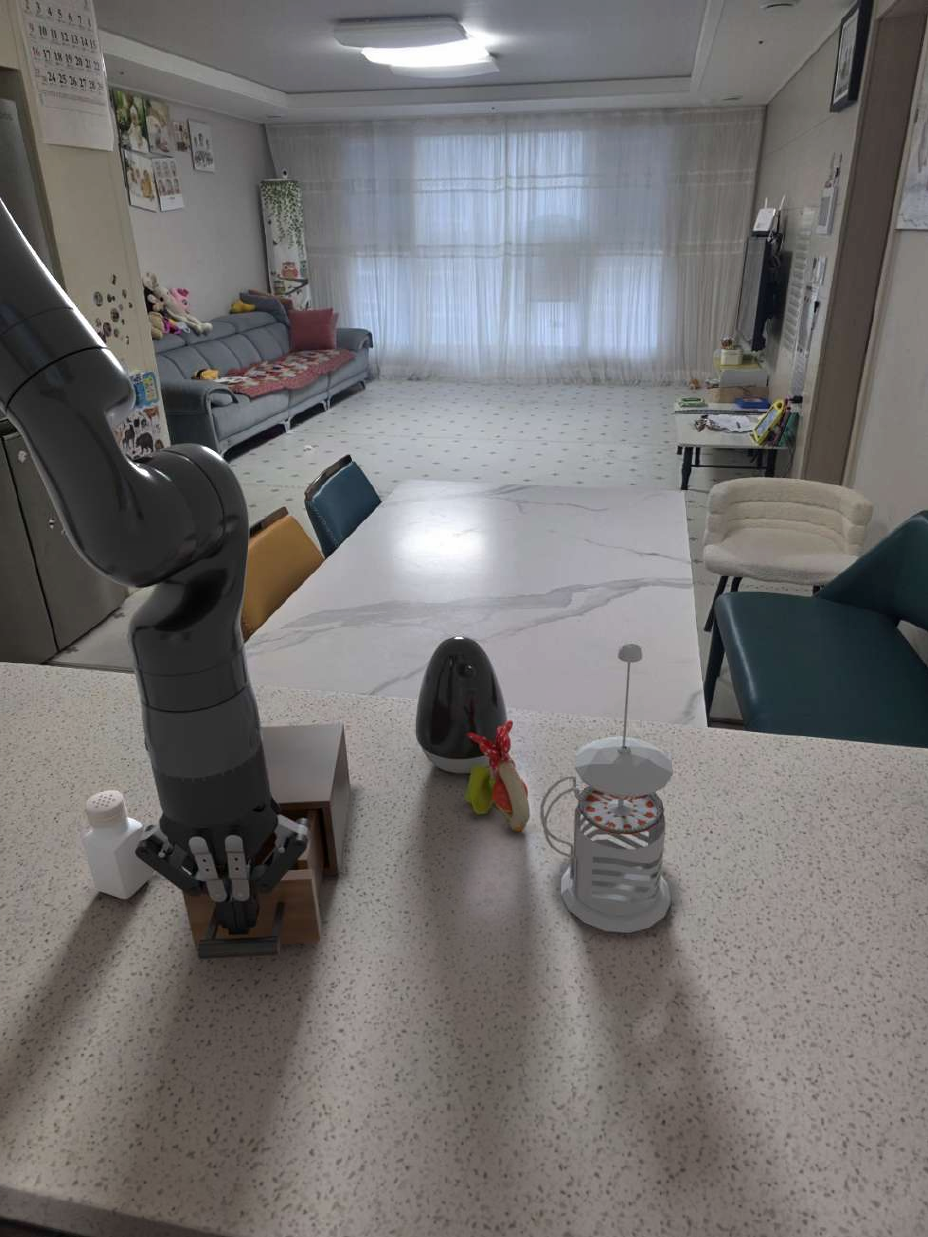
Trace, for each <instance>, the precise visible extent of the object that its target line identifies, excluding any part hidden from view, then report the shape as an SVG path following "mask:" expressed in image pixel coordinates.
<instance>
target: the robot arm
mask: <svg viewBox="0 0 928 1237" xmlns="http://www.w3.org/2000/svg"><path fill="white" fill-rule="evenodd" d="M56 280H57V279H55V277H54V276H53V274H52V273H51V272H50V271H49V270H48V268H47V267H46V266H45V264H44V263H43V262H42V260H41V259H40V257H39V256H38V254H37V253H36V251H35V250H34V248H33V247H32V245H31V244H30V242H29V240H27V238H26V237H25V235H24V233H23V232H22V230H21V229H20V228H19V226H18V224H17V222H16V221H15V220H14V218H13V216H12V215H11V213H10V212H9V210H8V208H7V207H6V205H5V203H4V201H3V200H2V198H1V197H0V410H1V411H2V413H3V415H5V416H6V417H7V418H8V420H9V422H11V424H12V425H13V426H14V427H15V428H16V430H17V431H18V432H19V433H20V435H21V436H22V439H23V440H24V443H25V444H26V447H27V449H28V451H29V454H30V456H31V458H32V461H33V463H34V465H35V468H36V470H37V472H38V474H39V475H40V478H41V480H42V482H43V485H44V486H45V488H46V491H47V493H48V495H49V498H50V500H51V502H52V505H53V507H54V509H55V512H56V514H57V516H58V518H59V520H60V521H59V522H60V523H61V525H62V528H63V530H64V532H65V534H66V536H67V538H68V540H69V543H70V544H71V545H72V546H73V548H74V550H75V551H76V552H77V554H78V555H79V557H80V558H81V559H82V560H83V561H84V562H85V563H86V564H87V565H88V566H89V567H90V568H92V569H93V570H94V571H95V572H97V574H99V575H100V576H102V577H104V578H105V579H107V580H108V581H111V582H113V583H114V584H117V585H120V586H123V587H127V588H131V589H145V588H150V587H153V586H154V589H153V590H152V591H151V593H150V595H149V596H148V597H147V599H146V600H145V601H144V602H143V603H142V604H141V605H140V606H139V607H138V609H137V610H136V611H135V612H134V613H133V614H132V616H131V618H130V620H129V622H128V627H127V632H126V633H127V644H128V649H129V654H130V659H131V662H132V667H133V672H134V676H135V680H136V685H137V690H138V694H139V699H140V706H141V723H142V729H143V730H142V731H143V734H144V738H143V739H144V740H143V741H144V746H145V750H146V752H147V753H148V756H149V757H148V758H149V761H150V765H151V770H152V774H153V778H154V783H155V787H156V791H157V797H158V801H159V805H160V808H161V811H162V813H161V816H160V818H159V821H158V824H149V825H147V826H146V828H144V833H143V835H142V837H141V839H140V841H139V843H138V846H137V848H136V850H135V854H136V856H137V857H138V858H139V859H141V860H142V861H143V862H145V863H146V864H147V865H149V866H150V867H151V868H153V869H154V872H156V873H158V874H159V875H160V876H162V877H163V878H164V879H166V880H167V881H168V882H170V883H171V884H173V885H174V886H175V887H176V888H178V889H179V890H180V891H181V892H182V891H183V892H185V893H186V894H187V895H189V896H191V897H197V896H199V895H200V894H201V893H204V894H208V895H210V897H211V899H212V900H213V901H215V905H216V910H217V914H218V919H219V924H220V925H221V927H222V928H223V929H227V928H228V933H229V935H248V934H249V932H250V929H251V928H252V927H255V925H256V922H257V918H258V914H259V910H260V906H259V901H258V895H257V892H260V893H263V894H267V893H270V892H271V891H272V890H273V888H274V887H275V886H276V885H277V884H278V882H279V881H280V880H281V879H282V878H283V876H284V875H285V874H286V873H287V872H288V871H289V869H290V868H291V867H292V866H293V865H294V863H295V862H296V861H297V860H298V859H299V857H300V856H301V855H302V854H303V853H304V851H305V850H306V848H307V843H308V838H309V833H310V828H311V823H310V821H309V820H307V819H304V818H301V819H298V820H297V821H296V822H293V821H292V820H290V819H288V818H286V817H284V816H282V815H281V809H280V806H279V804H278V803H277V802H276V801H275V799H274V798H273V796H272V794H271V790H270V782H269V776H268V770H267V763H266V757H265V750H264V744H263V737H262V731H261V727H262V724H261V718H260V713H259V707H258V702H257V698H256V695H255V691H254V689H253V684H252V683H251V678H250V673H249V664H248V660H247V653H246V648H245V640H244V636H243V631H242V627H241V618H242V617H241V616H242V609H243V603H244V598H245V597H244V596H245V592H246V590H245V589H246V579H247V568H248V558H249V546H250V517H249V508H248V503H247V498H246V495H245V492H244V489H243V487H242V485H241V482H240V481H239V478H238V477H237V475H236V474H237V473H235V471H234V470H233V468H232V467H231V465H230V464H229V463H228V462H227V461H226V460H225V458H223V457H222V456H221V455H220V454H219V453H217V452H216V451H215V450H213V449H211V448H210V447H207V446H204V445H201V444H198V443H192V442H191V443H190V442H189V443H188V442H184V443H177V444H172V445H169V446H165V447H163V448H160V449H157V450H155V451H153V452H150V453H148V454H144V455H142V456H139V457H136V458H132V459H130V458H129V457H128V456H127V455H126V454H125V452H124V451H123V449H122V447H121V444H120V443H119V440H118V438H117V435H116V433H115V431H116V430H117V429H118V428H119V427H120V426H121V425H122V424H123V423H124V422H125V421H126V420H127V419H128V418H129V416H130V415H131V413H132V412H133V410H134V408H135V405H136V401H137V400H136V399H137V393H136V389H135V388H136V387H135V386H134V383H133V381H132V379H131V377H130V376H129V374H128V372H127V371H126V369H125V368H124V367H123V366H122V364H121V363H120V361H119V360H118V358H116V356H115V354H114V353H113V352H112V351H111V350H110V348H109V347H108V345H107V344H106V342H104V340H103V339H102V338H101V336H100V335H99V334H98V333H97V331H96V330H95V328H94V327H93V326H92V325H91V323H89V321H88V320H87V318H85V316H84V314H82V312H81V311H80V310H79V308H78V307H77V305H75V303H74V302H73V301H72V299H71V298H70V296H68V294H66V292H65V290H64V289H62V287H61V285H60V284H59V282H57V281H56ZM273 832H275V834H276V840H275V848H274V849H273V850H272V851H271V852H270V854H269V855H268V856H267V857H266V859H265V860H264V861H263V863H262V865H260V866H257V867H255V857H254V856H256V855H257V853H258V852H259V851H260V849H261V848H262V847H263V845H264V844H265V843H266V841H267V840H268V839H269V837H270V836H271V835H272V833H273Z"/></svg>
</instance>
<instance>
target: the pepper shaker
mask: <svg viewBox="0 0 928 1237" xmlns="http://www.w3.org/2000/svg"><path fill="white" fill-rule="evenodd" d="M84 811H85V815H86V817H87V822H88V824H89V826H90V827H91V829H89V831H88V832H87V833H86V834H85V835H84V837H83V839H82V840H81V841H82V842H81V844H82V846H83V850H84V854H85V856H86V859H87V864H88V867H89V871H90V874H91V877H92V881H93V884H94V887H95V888H96V889H97V890H98V891H99V892H101V893H104V894H107V895H109V896H113V897H116V898H118V899H121V900H128V899H130V898H132V896H134V895H135V894H136V893H137V892H138V891H139V890H140V889H141V888H142V887H143V886H144V885H145V884H146V883H147V882H148V881H149V880H150V879H151V878H152V877H153V876H154V873H155V870H154V869H153V868H151V867H150V866H149V865H147V864H146V863H145V862H143V861H142V860H141V859H139V858H138V857H137V856H136V854H135V850H136V848H137V846H138V843H139V841H140V839H141V837H142V835H143V833H144V831H145V828H144V826H143V825H142V822H140V821H138V820H136V819H134V818H131V817H129V816H128V809H127V805H126V801H125V798H124V794H123V793H121V792H120V791H118V790H112V789H111V790H110V789H109V790H104V791H100V792H97V793H96V794H94V795H92V796H90V797H89V798H88V799H87V801H86V802H85V803H84Z"/></svg>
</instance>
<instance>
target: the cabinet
mask: <svg viewBox="0 0 928 1237" xmlns="http://www.w3.org/2000/svg"><path fill="white" fill-rule="evenodd" d="M261 731H262V737H263V744H264V750H265V757H266V763H267V770H268V776H269V782H270V790H271V794H272V796H273V798H274V799H275V801H276V802H277V803H278V804H279V806H280V809H281V810H295V809H316V808H322V813H323V820H324V828H325V835H326V843H327V849H326V855H325V861H324V867H323V873H322V876H339V875H340V871H341V865H342V864H341V863H342V856H343V850H344V849H343V848H344V842H345V836H346V835H345V834H346V828H347V820H348V814H349V806H350V799H351V794H352V793H351V792H352V789H351V781H350V780H351V779H350V771H349V770H350V769H349V762H348V754H347V753H348V752H347V743H346V735H345V725H344V723H343V722H342V723H322V724H321V723H319V724H300V725H299V724H298V725H279V726H278V725H277V726H261Z"/></svg>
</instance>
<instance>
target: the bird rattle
mask: <svg viewBox="0 0 928 1237" xmlns="http://www.w3.org/2000/svg"><path fill="white" fill-rule="evenodd" d="M513 725H514V722H513V720H511V719H510V720H508V721H507V722H506V723H505V724H504V725H503V726H499V727H498V728H497V730H496V733H495V737H494V741H495V744H494V743H492V742H491V741H489V740H488V739H487V738H486V737H483V736H480V735H477V734H474V733H468V737H469V738H470V739H472V740H474V741H475V742H477V743H479V744H480V750H481V751H482V752H483V753H484V754H485V755H486V756H488V757H490V758H489V765H488V767H487V766H486V767H483V766H475V767H473V768H472V770H471V772H470V773H469V783H468V785H467V788H466V791H465V795H464V802H466V803H471V806H472V810H473V812H474V813H475V814H476V815H486V814H487V813H488V812H489V810H490V808H491V806H492V805H493V804H494V805H495V806H496V807H497V808H498V809H499V810H501V811H502V813H503V815H504V817H505V818H506V820H507V822H508V824H509V826H510V829H511V830H512V831H513V832H520V831H523V830H524V829H525V828H526V826H527V823H529V821H530V817H531V810H530V803H529V798H528V797H529V792H528V786H527V784H526V783H525V782H524V780H523V779H521V776H520V774H519V773H518V771H517V769H516V763H515V761H514V760H513V758H512V757H511V755H510V754H509V752H510V750H511V747H512V742H511V738H510V736H509V734H510V732H511V730H512V728H513Z"/></svg>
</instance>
